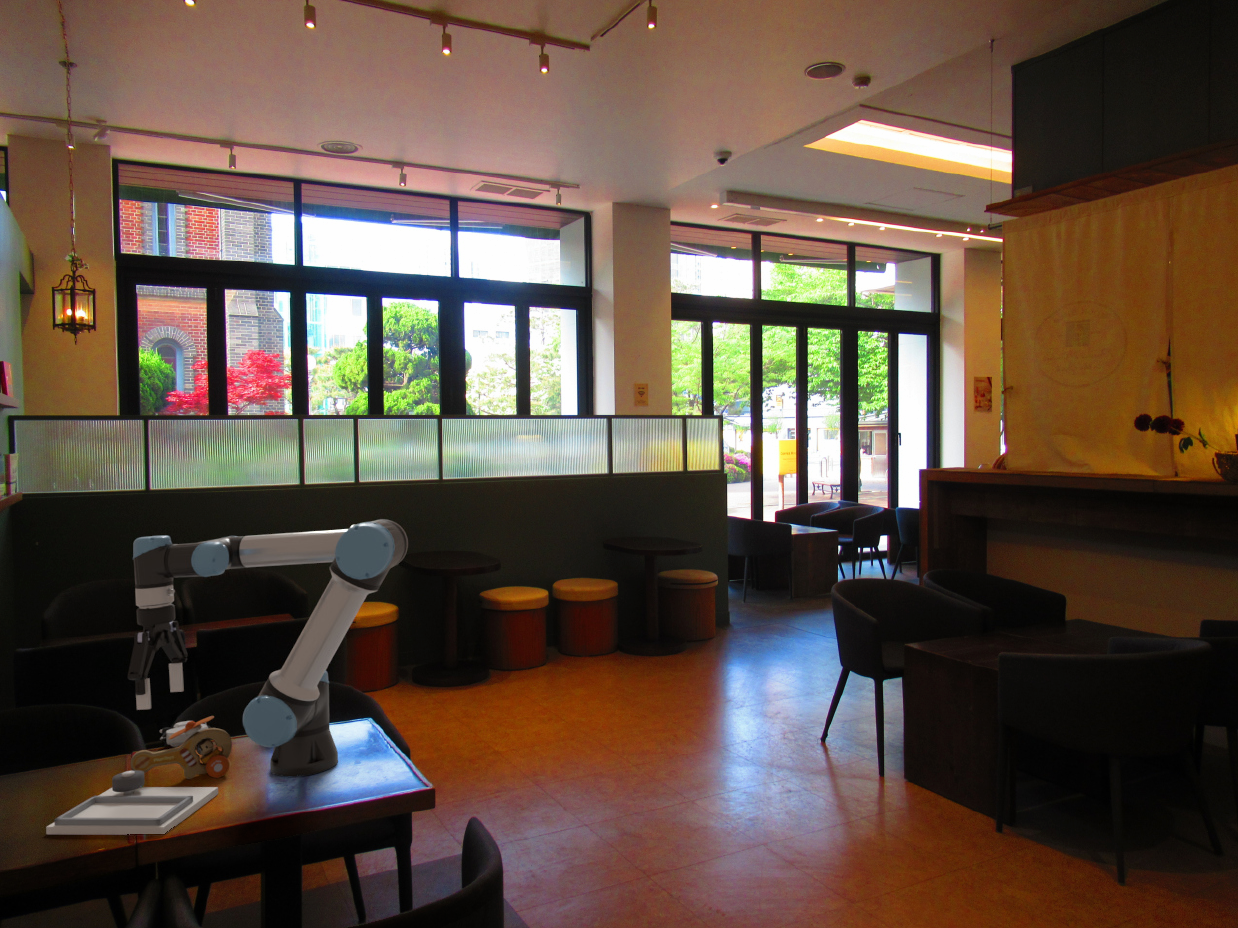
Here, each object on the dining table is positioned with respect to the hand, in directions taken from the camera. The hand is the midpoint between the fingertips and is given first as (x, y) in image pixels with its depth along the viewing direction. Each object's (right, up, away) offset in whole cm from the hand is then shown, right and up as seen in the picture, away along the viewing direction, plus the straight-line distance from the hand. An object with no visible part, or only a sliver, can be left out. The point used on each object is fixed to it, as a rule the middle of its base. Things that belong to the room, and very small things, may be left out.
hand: (161, 699), depth 188 cm
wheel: (-4, -17, -6) cm, 18 cm away
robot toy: (-12, -20, +33) cm, 41 cm away
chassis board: (+2, -20, -13) cm, 24 cm away
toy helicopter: (+3, -20, +6) cm, 21 cm away
